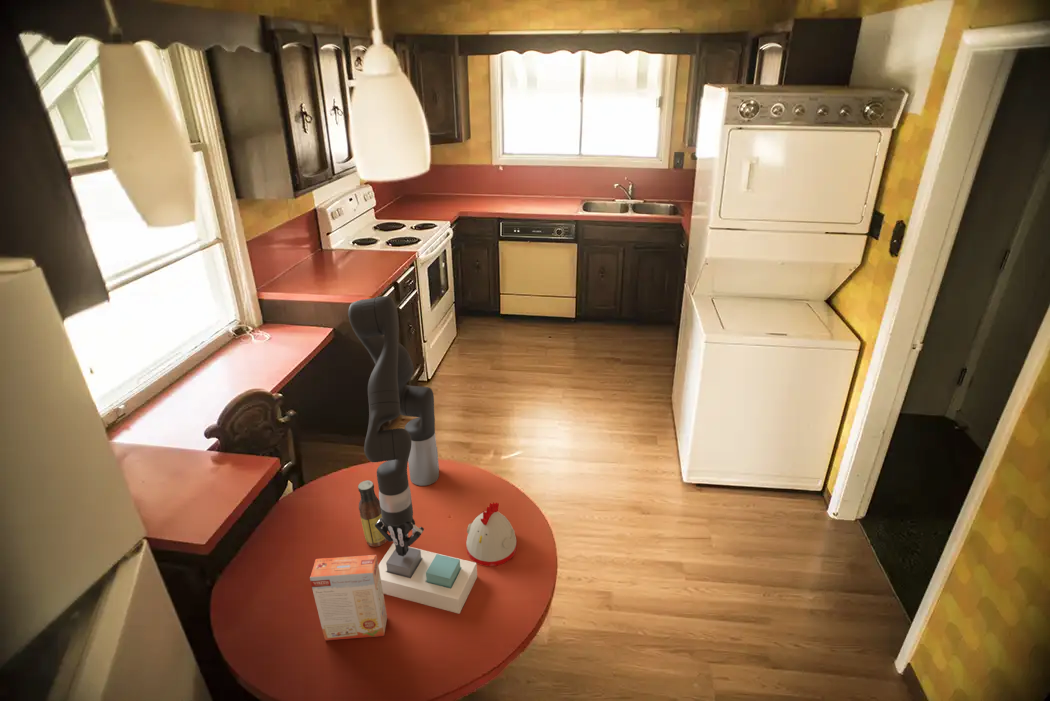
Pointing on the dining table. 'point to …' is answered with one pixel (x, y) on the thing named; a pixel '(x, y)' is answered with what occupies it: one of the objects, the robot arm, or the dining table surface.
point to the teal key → (443, 571)
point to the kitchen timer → (491, 538)
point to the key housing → (428, 592)
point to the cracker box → (349, 597)
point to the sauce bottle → (370, 514)
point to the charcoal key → (404, 563)
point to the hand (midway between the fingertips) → (402, 553)
